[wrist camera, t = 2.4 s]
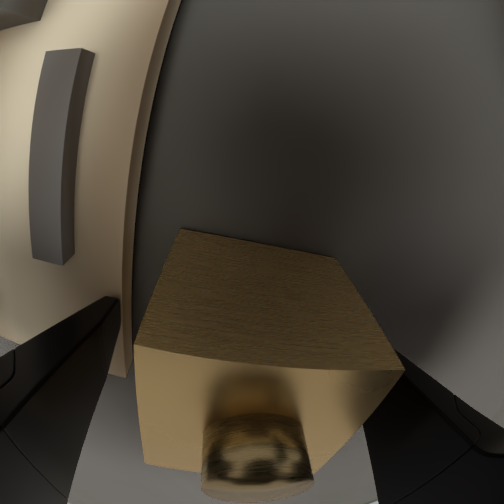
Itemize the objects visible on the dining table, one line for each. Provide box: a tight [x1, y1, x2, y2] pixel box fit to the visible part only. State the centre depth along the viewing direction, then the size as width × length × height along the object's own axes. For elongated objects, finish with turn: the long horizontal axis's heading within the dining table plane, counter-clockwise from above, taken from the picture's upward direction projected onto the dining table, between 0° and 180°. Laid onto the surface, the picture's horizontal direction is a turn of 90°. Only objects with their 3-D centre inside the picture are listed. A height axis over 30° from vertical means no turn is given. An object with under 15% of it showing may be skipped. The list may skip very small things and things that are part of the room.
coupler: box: [134, 229, 405, 503], centre depth 6 cm, size 4×4×6 cm
